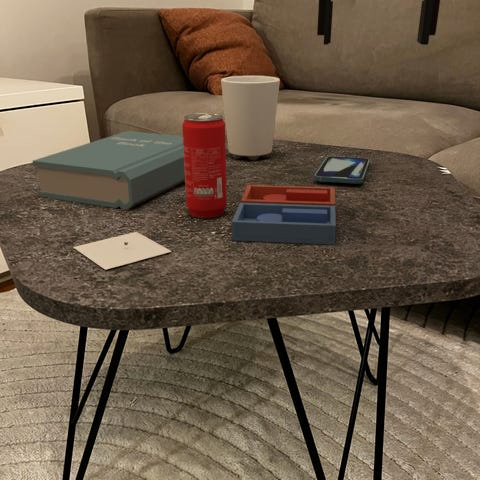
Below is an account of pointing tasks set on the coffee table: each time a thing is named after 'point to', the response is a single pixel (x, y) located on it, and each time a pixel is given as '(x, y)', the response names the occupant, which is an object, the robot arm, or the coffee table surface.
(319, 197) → the red rounded block
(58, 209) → the coffee table surface
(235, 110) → the cup
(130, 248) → the coaster
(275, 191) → the red tray
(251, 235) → the blue tray
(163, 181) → the book
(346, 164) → the smartphone
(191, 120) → the beverage can
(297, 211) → the blue rounded block
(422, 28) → the robot arm
